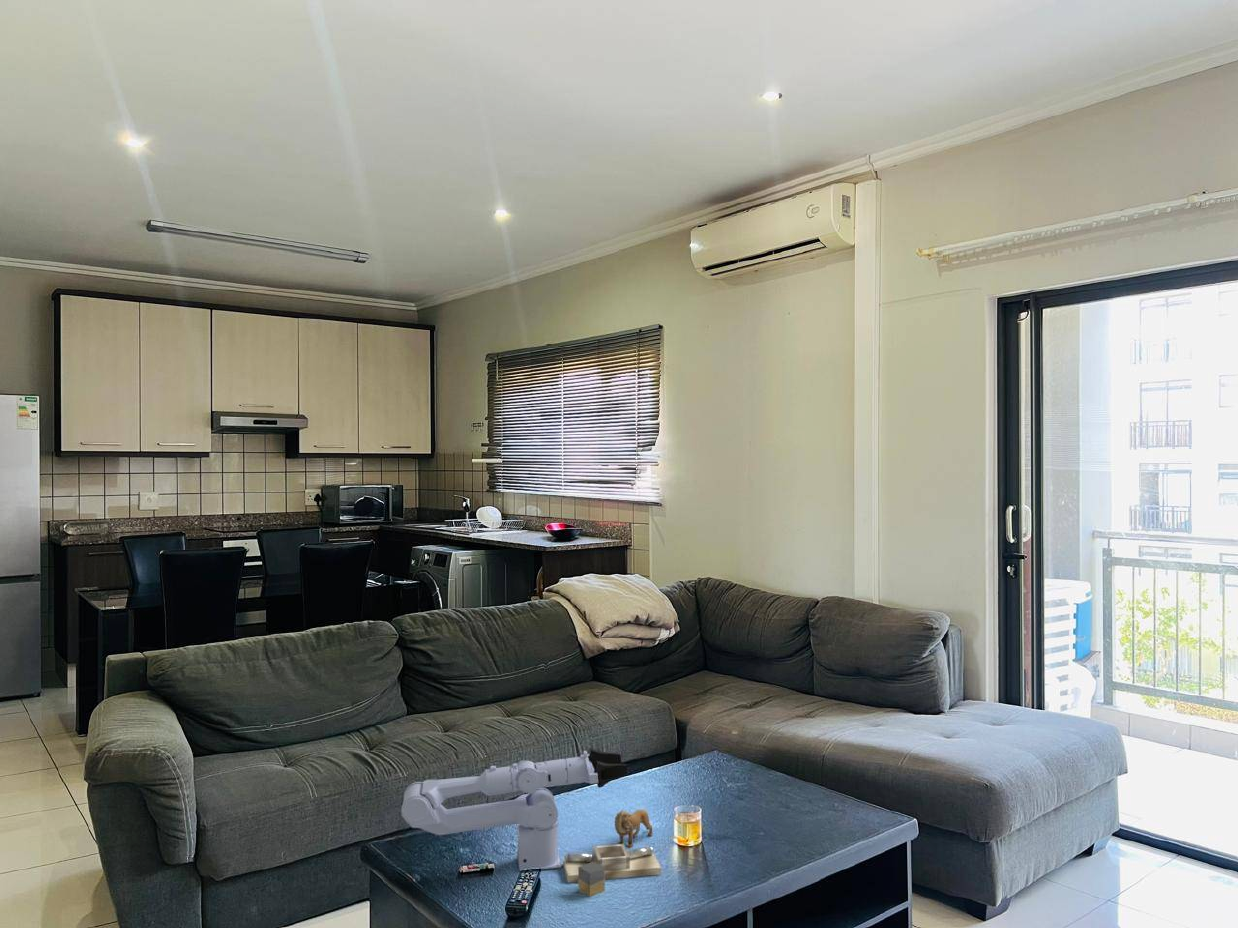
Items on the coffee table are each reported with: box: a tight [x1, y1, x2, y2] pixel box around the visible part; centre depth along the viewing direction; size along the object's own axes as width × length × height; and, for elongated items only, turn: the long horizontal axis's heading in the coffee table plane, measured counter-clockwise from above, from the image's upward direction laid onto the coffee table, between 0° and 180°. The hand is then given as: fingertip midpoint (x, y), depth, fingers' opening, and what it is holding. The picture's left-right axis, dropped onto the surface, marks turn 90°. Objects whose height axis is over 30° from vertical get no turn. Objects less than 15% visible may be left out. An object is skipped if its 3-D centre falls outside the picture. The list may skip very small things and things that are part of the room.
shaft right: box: [627, 845, 655, 859], centre depth 202 cm, size 7×2×2 cm, turn 116°
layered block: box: [577, 862, 606, 898], centre depth 189 cm, size 4×4×5 cm
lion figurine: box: [614, 809, 653, 848], centre depth 214 cm, size 15×5×9 cm, turn 151°
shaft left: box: [563, 852, 594, 862], centre depth 199 cm, size 7×2×2 cm, turn 86°
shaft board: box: [562, 843, 662, 884], centre depth 199 cm, size 21×9×4 cm, turn 101°
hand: (623, 763), depth 206 cm, fingers open, 7 cm apart
